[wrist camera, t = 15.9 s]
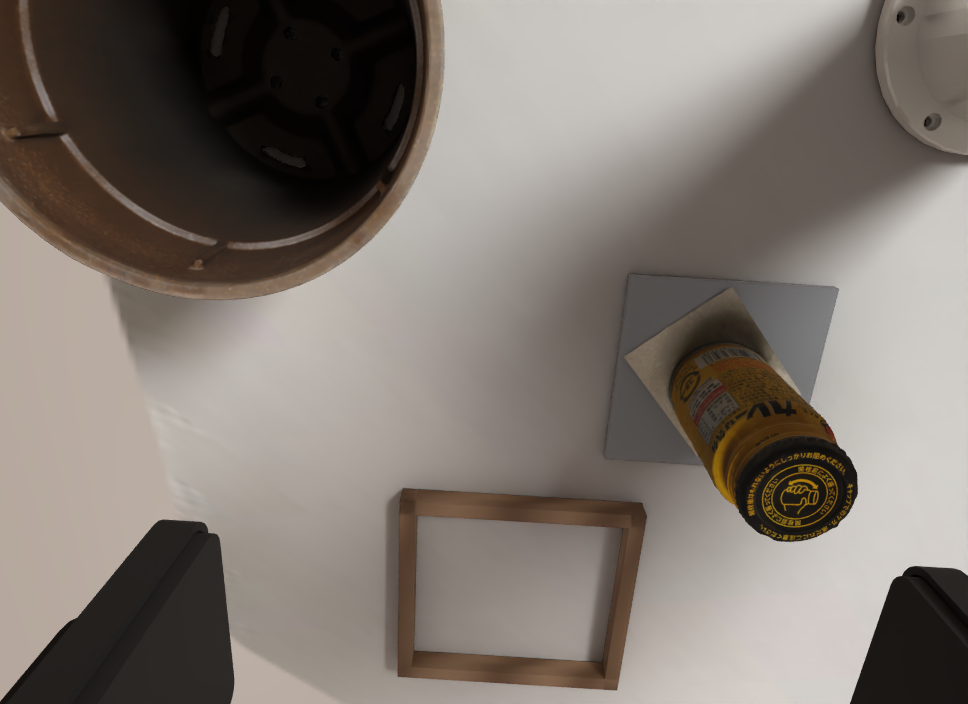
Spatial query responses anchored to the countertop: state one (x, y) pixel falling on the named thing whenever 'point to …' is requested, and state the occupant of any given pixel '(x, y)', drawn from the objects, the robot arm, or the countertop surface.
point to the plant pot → (213, 133)
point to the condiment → (748, 421)
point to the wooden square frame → (522, 511)
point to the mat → (648, 311)
